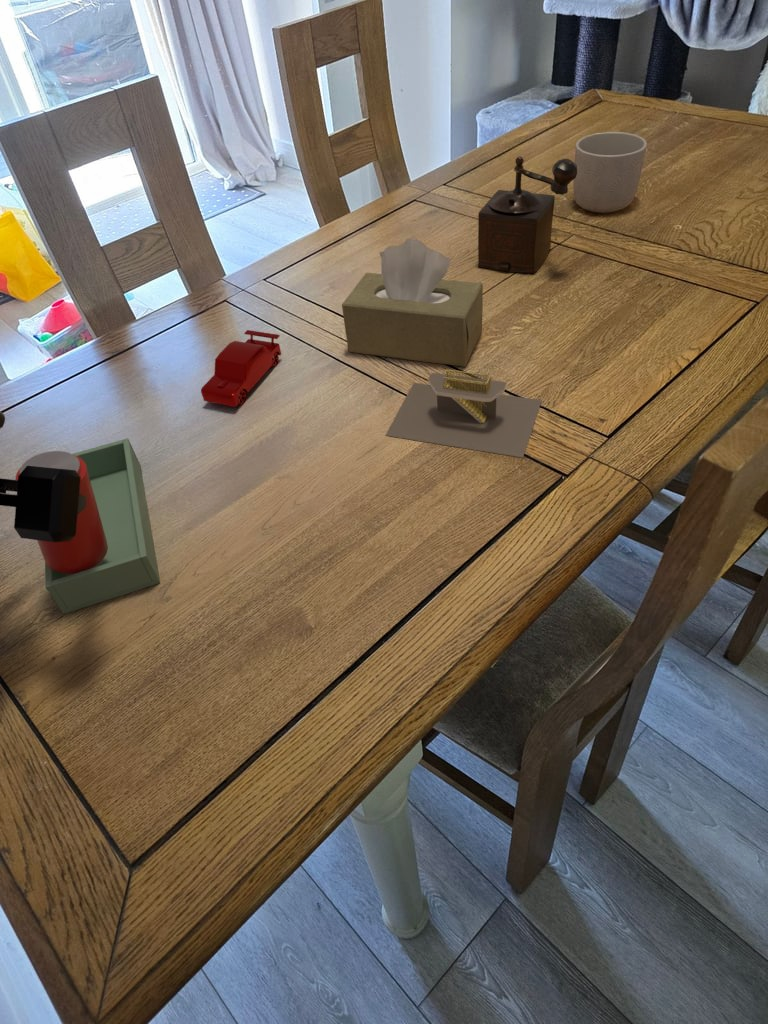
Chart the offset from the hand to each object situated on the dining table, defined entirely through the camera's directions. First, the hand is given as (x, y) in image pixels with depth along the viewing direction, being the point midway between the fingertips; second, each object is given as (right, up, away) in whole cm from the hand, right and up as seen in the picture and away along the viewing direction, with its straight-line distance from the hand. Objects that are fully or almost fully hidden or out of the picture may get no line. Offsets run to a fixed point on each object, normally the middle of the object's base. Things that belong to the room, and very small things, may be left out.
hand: (44, 497), depth 69 cm
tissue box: (+39, +24, +37) cm, 58 cm away
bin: (+1, -4, +14) cm, 14 cm away
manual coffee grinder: (+59, +42, +52) cm, 89 cm away
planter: (+76, +57, +65) cm, 115 cm away
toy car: (+13, +18, +33) cm, 40 cm away
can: (+1, -6, +6) cm, 8 cm away
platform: (+44, +11, +23) cm, 51 cm away
